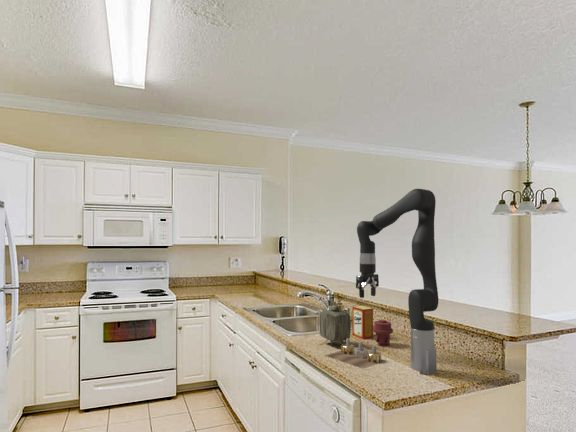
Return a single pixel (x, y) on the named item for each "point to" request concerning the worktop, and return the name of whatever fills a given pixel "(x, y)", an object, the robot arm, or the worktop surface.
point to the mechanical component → (382, 332)
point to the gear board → (353, 357)
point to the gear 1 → (347, 348)
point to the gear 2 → (374, 357)
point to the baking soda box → (362, 322)
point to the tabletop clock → (335, 323)
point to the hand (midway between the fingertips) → (367, 296)
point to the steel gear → (360, 353)
